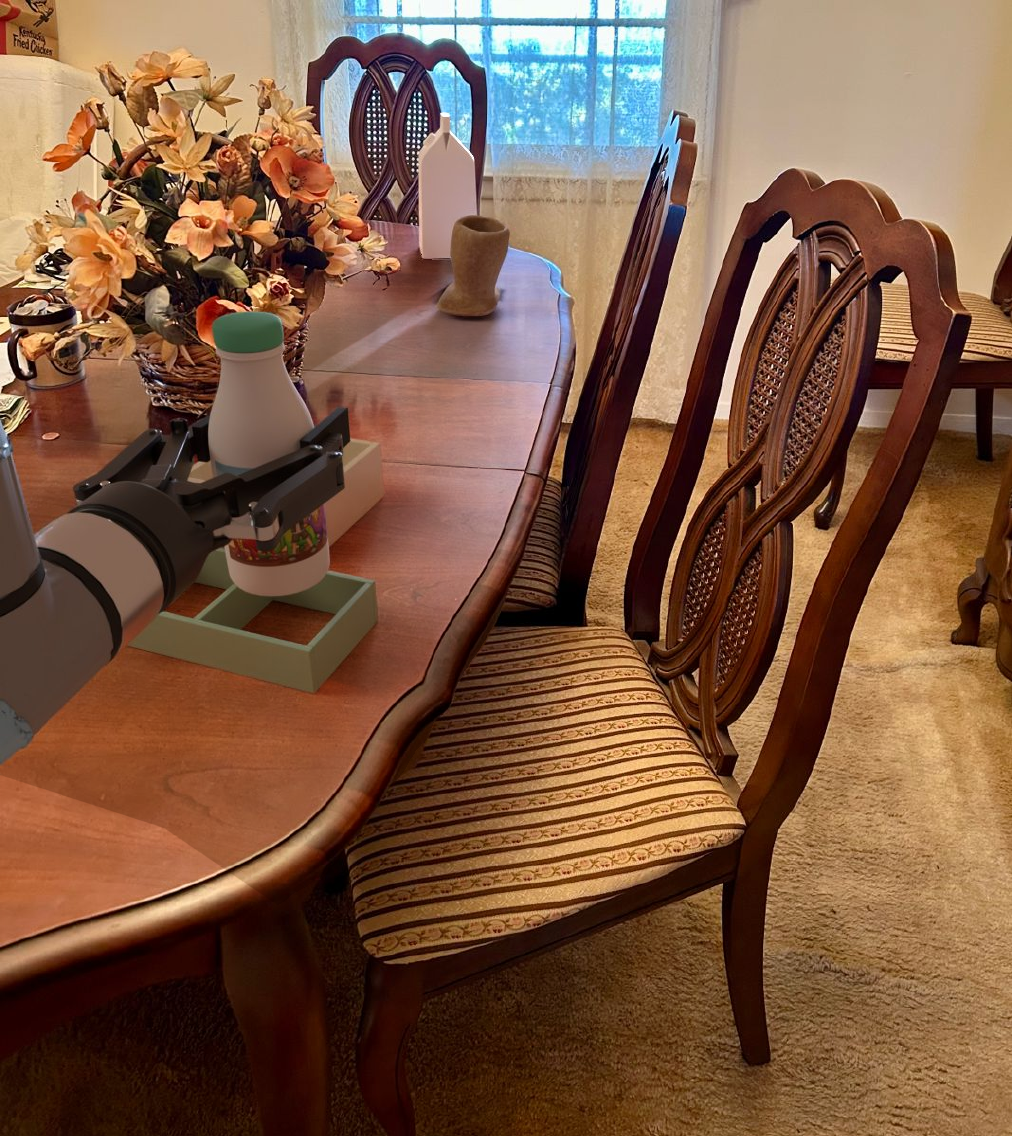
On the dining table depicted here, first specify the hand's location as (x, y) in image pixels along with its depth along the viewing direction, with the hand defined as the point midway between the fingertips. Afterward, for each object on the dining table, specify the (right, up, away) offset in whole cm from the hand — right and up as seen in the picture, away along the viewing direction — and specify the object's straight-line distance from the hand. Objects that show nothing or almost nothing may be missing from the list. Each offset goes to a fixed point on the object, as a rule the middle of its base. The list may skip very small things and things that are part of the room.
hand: (293, 417), depth 71 cm
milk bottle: (-1, -12, +2) cm, 12 cm away
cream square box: (-6, -6, +24) cm, 25 cm away
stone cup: (+11, +33, +88) cm, 94 cm away
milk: (+4, +54, +124) cm, 135 cm away
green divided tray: (-6, -17, +7) cm, 19 cm away
